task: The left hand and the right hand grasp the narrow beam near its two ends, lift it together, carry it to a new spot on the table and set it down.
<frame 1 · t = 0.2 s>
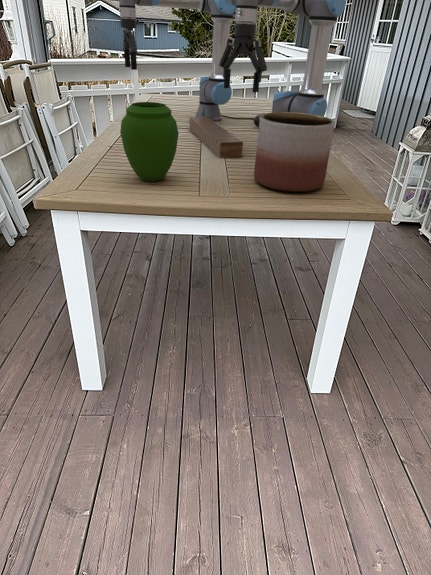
left hand: (130, 68, 208), 28 cm above the table, tool pointing down, fingers open, 13 cm apart
right hand: (240, 90, 155), 27 cm above the table, tool pointing down, fingers open, 13 cm apart
seashell: (260, 128, 233), on the table
narrow beam: (212, 142, 199), on the table
planter: (287, 183, 149), on the table
vase: (151, 178, 146), on the table
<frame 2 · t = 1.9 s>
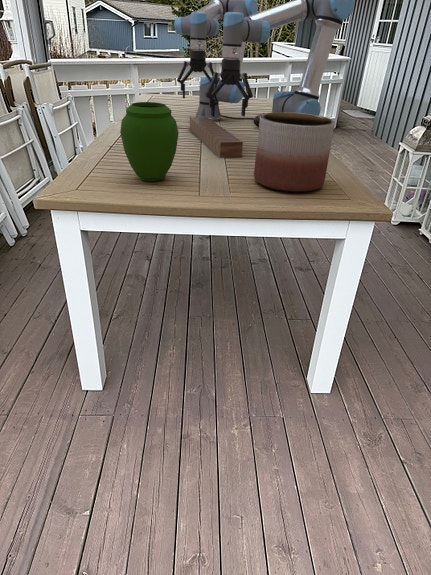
left hand: (197, 98, 208), 16 cm above the table, tool pointing down, fingers open, 13 cm apart
right hand: (228, 116, 174), 16 cm above the table, tool pointing down, fingers open, 13 cm apart
nothing on the table moved.
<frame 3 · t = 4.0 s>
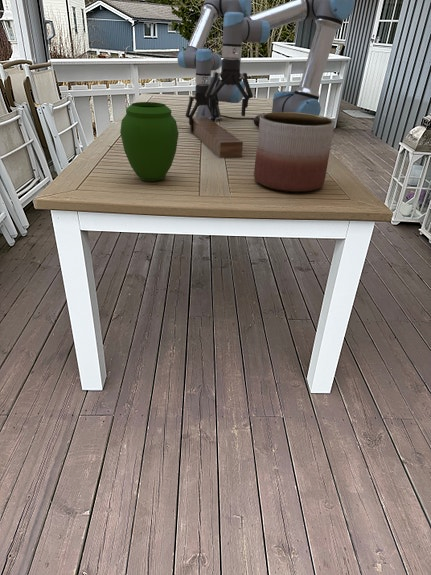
left hand: (201, 131, 216), 1 cm above the table, tool pointing down, fingers closed on narrow beam, 10 cm apart
right hand: (228, 116, 174), 16 cm above the table, tool pointing down, fingers open, 13 cm apart
narrow beam: (212, 142, 199), on the table, touching left hand
everything else where it was.
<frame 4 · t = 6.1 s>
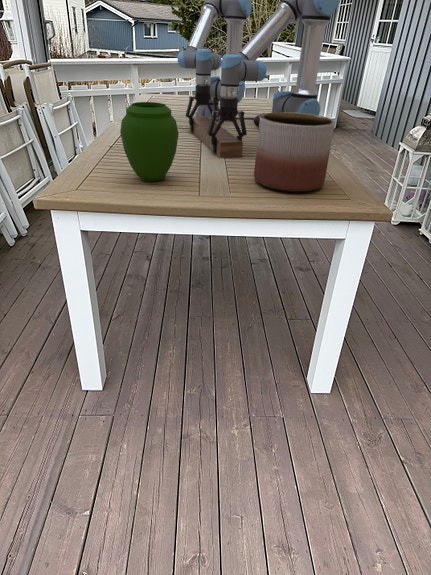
left hand: (201, 131, 216), 1 cm above the table, tool pointing down, fingers closed on narrow beam, 10 cm apart
right hand: (225, 151, 182), 1 cm above the table, tool pointing down, fingers closed on narrow beam, 10 cm apart
narrow beam: (212, 142, 199), on the table, touching left hand, right hand
everything else where it was.
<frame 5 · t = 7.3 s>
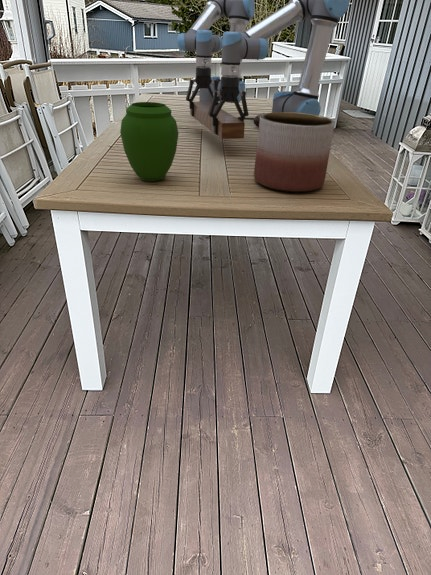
left hand: (202, 115, 212), 8 cm above the table, tool pointing down, fingers closed on narrow beam, 10 cm apart
right hand: (227, 133, 178), 8 cm above the table, tool pointing down, fingers closed on narrow beam, 10 cm apart
narrow beam: (213, 125, 195), point 8 cm above the table, touching left hand, right hand
everything else where it was.
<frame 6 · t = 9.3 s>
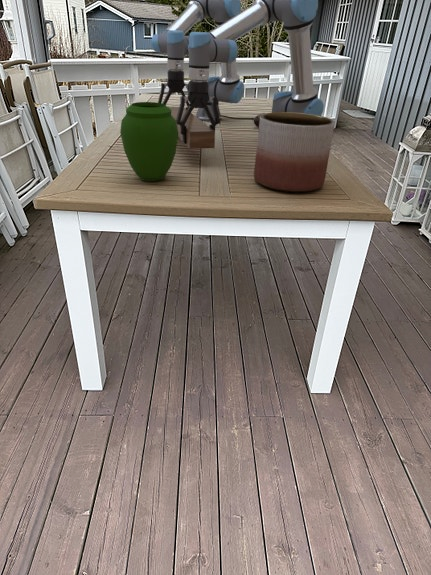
left hand: (176, 122, 198), 8 cm above the table, tool pointing down, fingers closed on narrow beam, 10 cm apart
right hand: (197, 142, 164), 8 cm above the table, tool pointing down, fingers closed on narrow beam, 10 cm apart
narrow beam: (185, 132, 181), point 7 cm above the table, touching left hand, right hand
everything else where it was.
when the left hand's fingers open (1 cm above the table, at t = 10.8 s): narrow beam stays where it is, on the table.
when the right hand's fingers open (1 cm above the table, at t = 10.8 s): narrow beam stays where it is, on the table.
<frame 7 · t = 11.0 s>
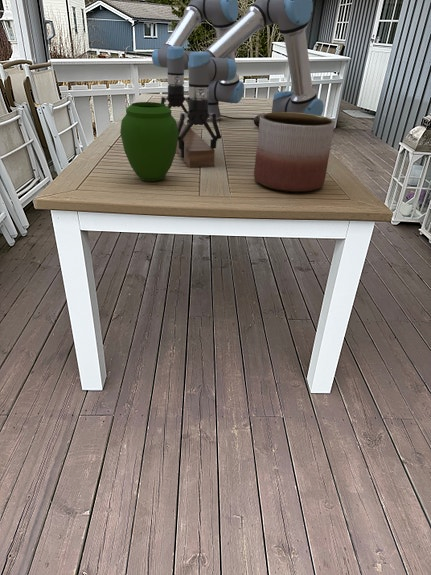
left hand: (176, 134, 201), 2 cm above the table, tool pointing down, fingers open, 12 cm apart
right hand: (197, 157, 166), 2 cm above the table, tool pointing down, fingers open, 12 cm apart
narrow beam: (185, 149, 185), on the table
everything else where it was.
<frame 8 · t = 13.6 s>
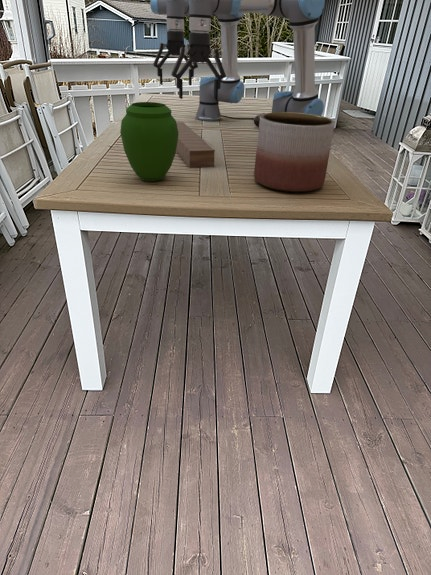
left hand: (175, 84, 189), 24 cm above the table, tool pointing down, fingers open, 13 cm apart
right hand: (198, 98, 155), 24 cm above the table, tool pointing down, fingers open, 13 cm apart
nothing on the table moved.
at the end: narrow beam inside the target area (0.2 cm from its centre), on the table; narrow beam tilted 0°; narrow beam never tilted more than 2° during the clip; both hands held the narrow beam at the same time; the left hand is holding nothing; the right hand is holding nothing; narrow beam at rest at the end (0.0 cm/s) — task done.
